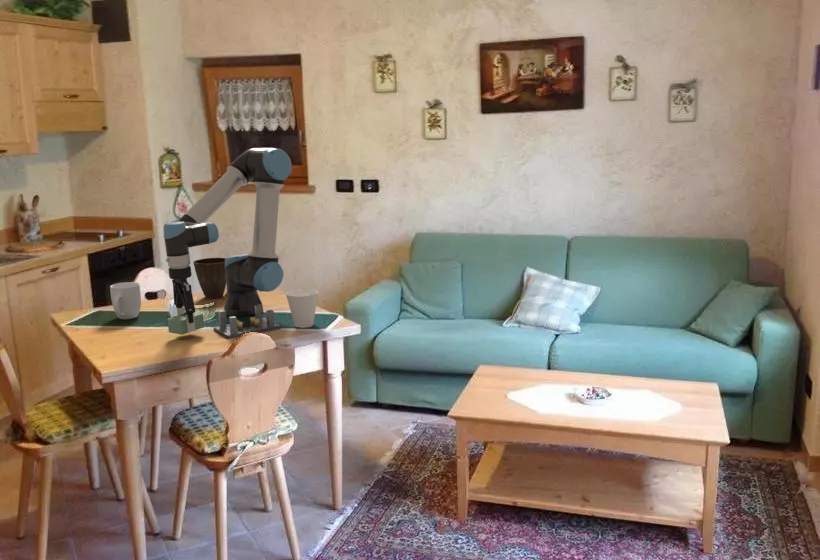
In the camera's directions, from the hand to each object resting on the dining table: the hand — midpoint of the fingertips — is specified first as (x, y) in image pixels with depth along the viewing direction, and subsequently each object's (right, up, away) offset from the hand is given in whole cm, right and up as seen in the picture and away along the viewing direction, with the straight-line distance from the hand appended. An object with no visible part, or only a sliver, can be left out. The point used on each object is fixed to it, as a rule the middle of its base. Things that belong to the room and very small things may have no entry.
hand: (187, 328), depth 273 cm
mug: (-32, +2, +29) cm, 43 cm away
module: (0, 0, 0) cm, 0 cm away
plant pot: (-6, +10, +61) cm, 62 cm away
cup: (+40, 0, +11) cm, 41 cm away
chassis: (+20, -1, +7) cm, 21 cm away
